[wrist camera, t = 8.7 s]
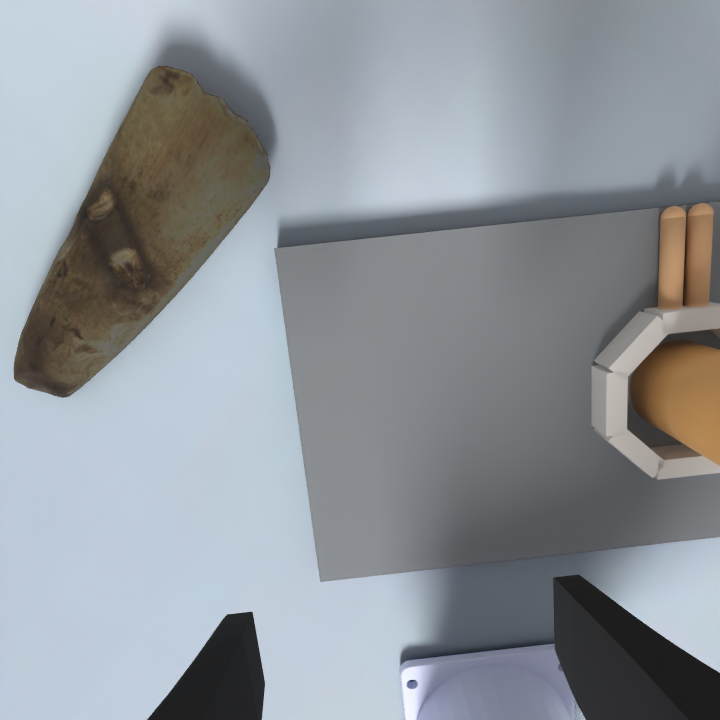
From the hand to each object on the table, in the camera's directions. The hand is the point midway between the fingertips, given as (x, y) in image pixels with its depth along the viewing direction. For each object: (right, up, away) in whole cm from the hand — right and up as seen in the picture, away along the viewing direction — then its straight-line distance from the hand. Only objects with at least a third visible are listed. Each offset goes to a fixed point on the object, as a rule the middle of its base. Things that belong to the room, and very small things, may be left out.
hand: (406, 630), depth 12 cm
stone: (-10, +11, +8) cm, 17 cm away
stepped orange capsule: (+11, +5, +8) cm, 15 cm away
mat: (+6, +5, +9) cm, 12 cm away
